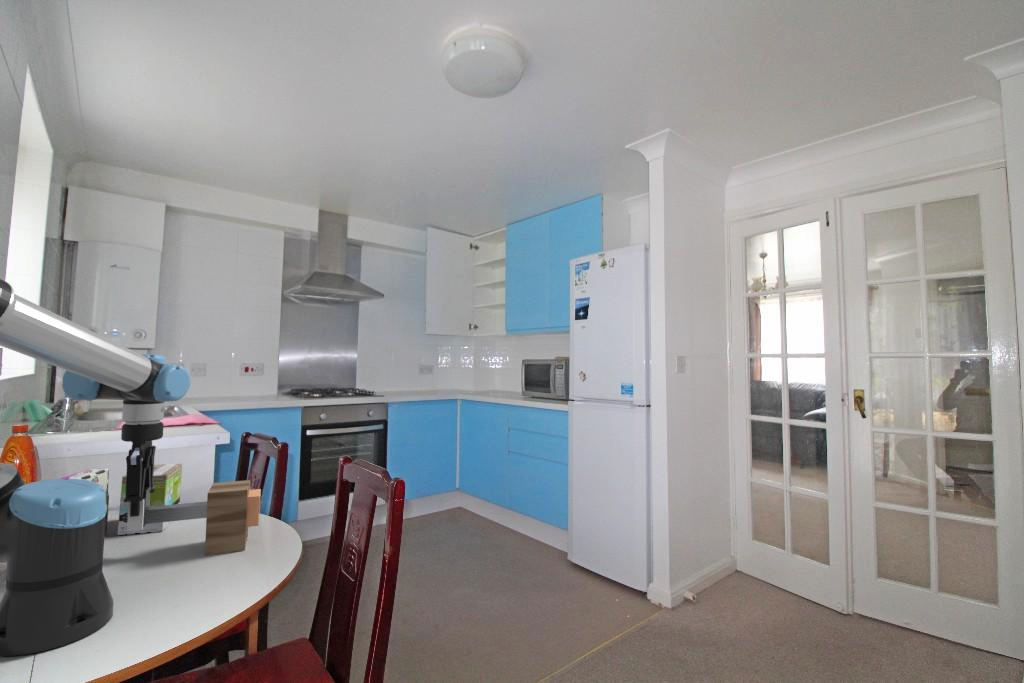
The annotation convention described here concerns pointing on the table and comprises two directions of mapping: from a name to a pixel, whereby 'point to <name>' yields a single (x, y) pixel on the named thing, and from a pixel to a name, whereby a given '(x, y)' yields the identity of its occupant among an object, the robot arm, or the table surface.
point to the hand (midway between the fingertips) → (138, 526)
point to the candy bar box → (94, 480)
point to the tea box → (154, 496)
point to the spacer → (253, 507)
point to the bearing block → (227, 517)
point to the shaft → (171, 510)
